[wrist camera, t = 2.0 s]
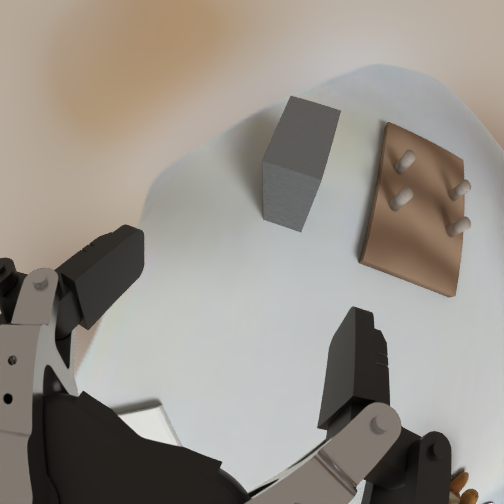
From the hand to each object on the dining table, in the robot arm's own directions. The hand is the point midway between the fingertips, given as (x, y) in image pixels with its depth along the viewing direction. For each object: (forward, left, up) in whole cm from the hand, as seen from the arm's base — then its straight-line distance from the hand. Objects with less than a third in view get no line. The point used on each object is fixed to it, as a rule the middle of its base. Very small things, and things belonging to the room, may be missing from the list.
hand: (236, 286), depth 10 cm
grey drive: (-3, -10, -14) cm, 18 cm away
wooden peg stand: (-17, -11, -14) cm, 25 cm away
